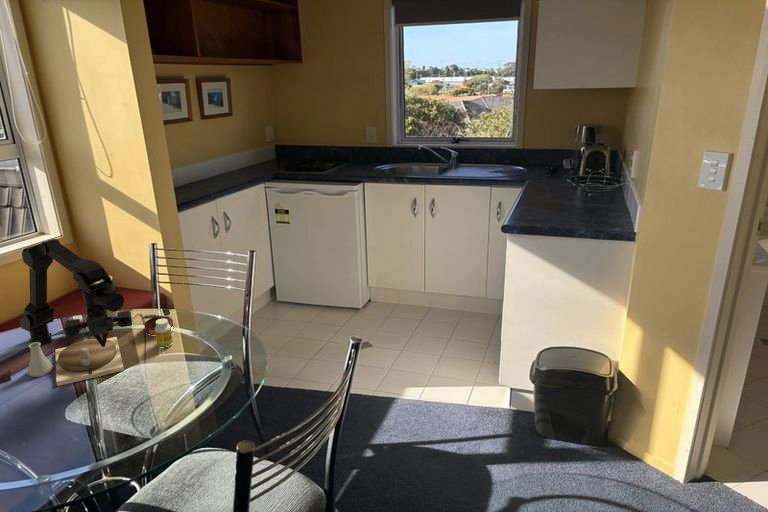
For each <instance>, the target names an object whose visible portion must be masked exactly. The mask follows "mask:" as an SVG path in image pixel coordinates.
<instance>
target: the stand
mask: <svg viewBox="0 0 768 512" xmlns="http://www.w3.org/2000/svg"><path fill="white" fill-rule="evenodd" d="M107 340H110V341H112V342H113V343H114V344H115V346H116V356H115V357H114V358H113V359H112V360H111V361H110V362H109V363H107V364H105V365H103V366H101V367H99V368H96V369H93V370H88V371H82V372H72V371H67V370H64V369H62V368H61V367H60V365H59V360H58V356H59V354H60V352H61V351H62V350H64V349H65V348H66V347H67V346H65V347H61V348H57V349H55V380H56V386H57V387H60V386H64V385H69V384H73V383H77V382H81V381H85V380H89V379H93V378H99V377H102V376H103V377H104V376H107V375H111V374H115V373H119V372H123V371H125V369H124V364H123V359H122V355H121V350H120V347H119V341H118V337H117V336H114V337H108V338H107Z"/></svg>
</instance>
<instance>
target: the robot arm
mask: <svg viewBox="0 0 768 512" xmlns="http://www.w3.org/2000/svg"><path fill="white" fill-rule="evenodd" d="M21 257H22V262H23V264H25V265H26V266H27V267H28V269H29V271H28V272H29V273H28V274H29V302H28V304H27V305H26V306H25V308H24V310H23V316H22V317H21V320H20V321H19V325H20V327H21V329H23V330H24V331H27V332H29V336H30V338H29V345H30V344H31V343H34V342H39V343H41V345H44V344H49V343H52V340H53V339H52V338H53V337H52V332H50V330H49V325H48V324H50V323H53V322H54V317H55V315H54V310H55V309H54V308H53V307H52V306H51V305H50V304H49V303H48V269H49V268H50V266H51V264H52V263H53V261H55V262H57V263H58V264H60V265H61V266H62V267H64V268H65V269H67V270H68V271H69V272H71V273H72V274H71V275H72V279H73V280H74V281H75V282H76V283H77V284H78V286H77V288H78V289H79V290H81V291H82V296H83V301H84V307H85V310H86V311H85V312H86V321H82V322H81V320H80V318H74V319H68V320H66V321H65V323H64V335H65V336H66V337H70V336H77V335H78V334H79V333H80V330H82V329H85V330H86V335H90V336H92V337H94V339H97V340H98V342H99V343H100V345H101V346H102V347H105V344H106V339H108V338H107V337H108V335H109V332H111V331H113V330H114V326H115V325H113V323H116V324H118V327H121V328H125V327H131V326H132V325H133V317H132V312H131V311H130V310H125V311H119V312H118V313H117V316H118V317H112V316H110V317H108V312H107V310H109V311H112V312H115V311H118V310H121V309H122V308H123V306H124V303H125V298H124V296H123V294H121V293H119V292H118V291H117V289H116V288H115V289H112V288H109V286H110V285H113V284H114V283H113V281H111V278H110V276H111V275H110V274H108V272H107V271H106V270H105V268H104V266H102V265H101V264H100V263H99V262H96V261H95V260H92V259H85V258H82V257H81V256H79V255H78V254H76V253H75V252H73V251H72V250H71V249H69V248H67V247H66V246H65V245H63V244H61V242H60V241H59V239H57V238H51V239H48V240H45V241H42V242H41V243H37V244H34V245H31V246H27V247H25V248H23V249H22V252H21ZM100 280H104V281H103V282H100V283H98V284H95V282H98V281H100Z"/></svg>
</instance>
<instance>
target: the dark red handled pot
mask: <svg viewBox="0 0 768 512" xmlns="http://www.w3.org/2000/svg"><path fill="white" fill-rule="evenodd" d="M163 318H164V319H167V320H168V324H169V325H170V326H171V327H172V326H173V327H174V319H173V318H172V317H170V316H166V315H157V314H150V315H149V314H145V315H144V316H142V319H144V320H146V319H148V320H147V321H145V322H144V324H143V325H144V331H145V334H146V333H147V334H150V335H155V327H156V321H157V320H158V319H163ZM147 334H146V335H147Z"/></svg>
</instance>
